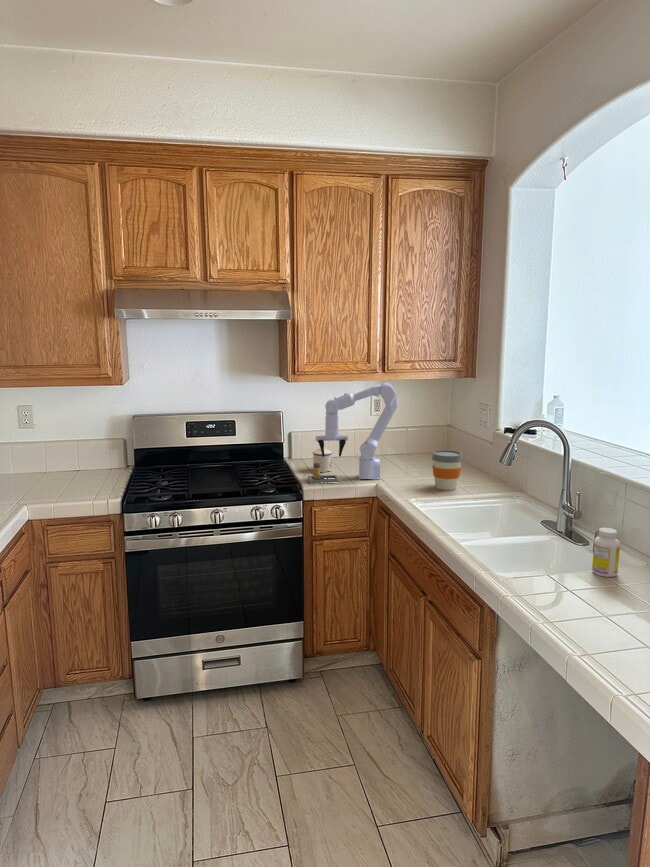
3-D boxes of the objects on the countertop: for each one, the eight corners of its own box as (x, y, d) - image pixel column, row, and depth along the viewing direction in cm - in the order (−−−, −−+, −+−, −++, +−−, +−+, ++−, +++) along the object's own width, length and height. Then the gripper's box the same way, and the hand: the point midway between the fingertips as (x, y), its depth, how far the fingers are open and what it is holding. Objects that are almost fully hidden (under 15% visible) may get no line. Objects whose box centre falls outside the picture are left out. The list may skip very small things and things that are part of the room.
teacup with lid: (334, 472, 289) (334, 447, 286) (316, 473, 286) (316, 449, 284) (326, 466, 300) (326, 443, 298) (308, 467, 297) (308, 444, 295)
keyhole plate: (336, 478, 277) (336, 475, 276) (338, 483, 269) (338, 479, 269) (307, 479, 275) (307, 475, 275) (309, 483, 267) (309, 480, 267)
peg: (320, 480, 273) (320, 462, 272) (320, 482, 270) (320, 464, 269) (313, 480, 273) (313, 463, 272) (313, 482, 270) (313, 464, 269)
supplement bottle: (610, 568, 178) (614, 526, 175) (621, 577, 171) (626, 534, 169) (587, 568, 177) (591, 526, 175) (598, 578, 171) (602, 534, 169)
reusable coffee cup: (439, 492, 256) (440, 457, 253) (426, 484, 267) (427, 450, 265) (466, 490, 259) (467, 455, 256) (452, 482, 271) (453, 449, 268)
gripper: (346, 424, 279) (346, 454, 281) (314, 425, 277) (314, 454, 280) (348, 427, 272) (348, 457, 274) (316, 428, 270) (316, 458, 273)
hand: (331, 456), depth 277 cm, fingers open, 7 cm apart
